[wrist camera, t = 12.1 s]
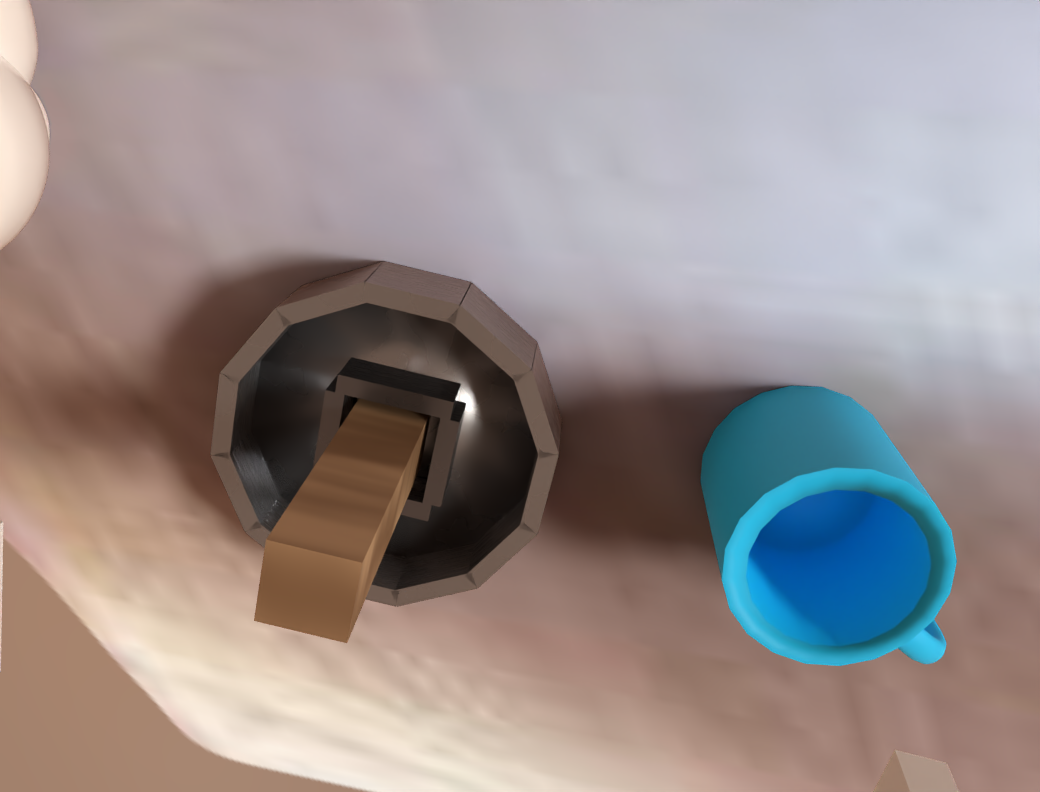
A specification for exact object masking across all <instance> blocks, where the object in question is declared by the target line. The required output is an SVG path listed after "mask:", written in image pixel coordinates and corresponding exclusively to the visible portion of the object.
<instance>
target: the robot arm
mask: <svg viewBox="0 0 1040 792" xmlns="http://www.w3.org/2000/svg"><path fill="white" fill-rule="evenodd" d="M2 563H3V521H0V672H1V623H2V621H1V620H2V565H3V564H2ZM873 792H959V790H958V788H957V786H956V783H955V781H954V779H953V776H952V774H951V771H950V769H949V767H948V764H947V763H945V762H941V761H937V760H933V759H929V758H925V757H922V756H918V755H914V754H910V753H906V752H902V751H898V750H894V752H893V754H892V756H891V758H890V760H889V762H888V764H887V766H886V768H885V770H884V772H883V774H882V776H881V778H880V780H879V782H878V783H877V785H876V787H875V789H874V791H873Z"/></svg>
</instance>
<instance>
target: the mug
mask: <svg viewBox="0 0 1040 792" xmlns="http://www.w3.org/2000/svg"><path fill="white" fill-rule="evenodd" d="M700 482H701V487H702V491H703V496H704V500H705V505H706V509H707V514H708V518H709V523H710V528H711V532H712V537H713V541H714V546H715V550H716V555H717V560H718V564H719V569H720V573H721V578H722V582H723V586H724V590H725V593H726V597H727V601H728V605H729V608H730V610H731V611H732V613H733V614H734V616H735V617H736V618H737V620H738V621H739V623H740V624H741V626H742V627H743V628H744V630H745V631H746V633H747V634H748V635H750V636H751V637H752V638H754V639H755V640H757V641H758V642H759V643H761V644H762V645H764V646H765V647H766V648H768V649H769V650H770V651H772V652H773V653H776V654H779V655H782V656H785V657H788V658H791V659H793V660H796V661H799V662H802V663H805V664H820V665H835V666H842V665H847V664H852V663H857V662H862V661H868V660H873V659H876V658H878V657H880V656H882V655H885V654H887V653H889V652H891V651H893V650H895V649H897V648H898V649H899V650H901V651H902V652H903V653H904V654H906V655H907V656H908V657H909V658H911V659H913V660H915V661H918V662H920V663H923V664H930V663H934V662H936V661H938V660H939V659H940V658H941V657H942V656H943V654H944V652H945V648H946V641H945V638H944V636H943V634H942V632H941V630H940V628H939V626H938V625H937V623H936V622H935V620H934V619H935V617H936V615H937V614H938V612H939V610H940V609H941V607H942V605H943V604H944V602H945V601H946V599H947V597H948V596H949V594H950V591H951V587H952V582H953V577H954V572H955V568H956V563H957V560H956V554H955V549H954V543H953V537H952V531H951V529H950V527H949V526H948V524H947V522H946V521H945V519H944V518H943V516H942V514H941V513H940V511H939V509H938V508H937V506H936V505H935V503H934V501H933V500H932V499H931V497H930V496H929V494H928V493H927V492H926V490H925V489H924V487H923V486H922V484H921V483H920V482H919V480H918V479H917V477H916V476H915V474H914V473H913V472H912V470H911V469H910V467H909V466H908V465H907V463H906V462H905V460H904V459H903V457H902V456H901V455H900V453H899V452H898V450H897V449H896V447H895V446H894V445H893V443H892V442H891V440H890V439H889V438H888V436H887V435H886V433H885V432H884V430H883V429H882V428H881V426H880V425H879V423H878V422H877V420H876V419H875V418H874V416H873V415H872V414H871V413H870V412H868V411H867V410H866V409H865V408H863V407H862V406H861V405H859V404H858V403H857V402H856V401H854V400H853V399H852V398H851V397H849V396H846V395H843V394H840V393H837V392H835V391H832V390H829V389H826V388H823V387H812V386H787V387H783V388H779V389H775V390H771V391H767V392H763V393H760V394H758V395H757V396H755V397H753V398H751V399H750V400H748V401H746V402H744V403H743V404H741V405H739V406H738V407H736V408H734V409H733V410H732V411H731V413H730V414H729V415H728V416H727V417H726V418H725V419H724V420H723V421H722V422H721V423H720V424H719V425H718V426H717V428H716V429H715V430H714V432H713V434H712V436H711V438H710V441H709V443H708V445H707V447H706V449H705V451H704V453H703V459H702V469H701V479H700Z"/></svg>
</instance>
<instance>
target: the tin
mask: <svg viewBox="0 0 1040 792" xmlns="http://www.w3.org/2000/svg"><path fill="white" fill-rule="evenodd" d="M359 398H360V399H364V400H368V401H373V402H377V403H381V404H385V405H389V406H393V407H398V408H402V409H406V410H410V411H414V412H418V413H423V414H427V415H431V418H430V423H429V428H428V433H427V437H426V442H425V447H424V452H423V456H422V461H421V466H420V469H419V471H418V474H417V476H416V479H415V481H414V483H413V486H412V488H411V491H410V493H409V495H408V498H407V500H406V503H405V505H404V507H403V510H402V512H401V515H400V517H399V519H398V522H397V524H396V527H395V529H394V531H393V534H392V536H391V539H390V541H389V543H388V546H387V548H386V551H385V553H384V555H383V558H382V560H381V563H380V565H379V567H378V570H377V572H376V575H375V577H374V579H373V582H372V584H371V586H370V589H369V591H368V594H367V596H366V598H365V599H367V600H371V601H375V602H379V603H383V604H387V605H392V606H397V607H398V606H402V605H406V604H411V603H415V602H420V601H424V600H429V599H433V598H437V597H442V596H446V595H451V594H455V593H459V592H464V591H468V590H473V589H477V588H479V587H480V586H481V585H482V584H483V583H484V582H485V581H487V580H488V579H489V578H490V577H491V576H492V575H493V574H494V573H495V572H496V571H498V570H499V569H500V568H501V567H502V566H503V565H504V564H505V563H506V562H507V561H509V560H510V559H511V558H512V557H513V556H514V555H515V554H516V553H517V552H518V551H520V550H521V549H522V548H523V547H524V546H525V545H526V544H527V543H528V542H529V541H531V540H532V539H533V538H534V537H535V536H536V535H537V533H538V531H539V527H540V524H541V520H542V516H543V512H544V509H545V505H546V501H547V497H548V494H549V490H550V486H551V482H552V479H553V475H554V471H555V467H556V463H557V460H558V456H559V448H560V438H561V429H562V419H561V415H560V412H559V409H558V406H557V403H556V400H555V396H554V393H553V390H552V387H551V384H550V381H549V377H548V374H547V371H546V368H545V365H544V362H543V358H542V355H541V352H540V349H539V346H538V343H537V341H536V340H534V339H533V338H532V337H531V336H530V335H529V334H528V333H527V332H526V331H525V330H523V329H522V328H521V327H520V326H519V325H518V324H517V323H516V322H515V321H514V320H513V319H511V318H510V317H509V316H508V315H507V314H506V313H505V312H504V311H503V310H502V309H500V308H499V307H498V306H497V305H496V304H495V303H494V302H493V301H492V300H491V299H490V298H488V297H487V296H486V295H485V294H484V293H483V292H482V291H481V290H480V289H479V288H477V287H476V286H475V285H474V284H473V283H471V282H469V281H465V280H460V279H456V278H452V277H448V276H444V275H440V274H436V273H431V272H427V271H423V270H419V269H415V268H411V267H407V266H402V265H398V264H394V263H390V262H386V261H383V262H379V263H376V264H372V265H369V266H366V267H362V268H359V269H356V270H352V271H349V272H345V273H342V274H339V275H335V276H332V277H329V278H325V279H322V280H318V281H315V282H312V283H308V284H305V285H302V286H301V287H300V288H298V289H297V290H296V291H295V292H294V293H292V294H291V295H290V296H289V297H288V298H287V299H285V300H284V301H283V302H282V303H281V304H280V305H278V306H277V307H276V308H275V309H274V310H273V311H272V313H271V314H270V315H269V316H268V317H267V318H266V319H265V321H264V322H263V323H262V324H261V325H260V326H259V328H258V329H257V330H256V331H255V332H254V333H253V335H252V336H251V337H250V338H249V339H248V340H247V342H246V343H245V344H244V345H243V346H242V347H241V349H240V350H239V351H238V352H237V353H236V354H235V356H234V357H233V358H232V359H231V360H230V361H229V363H228V364H227V365H226V366H225V367H224V368H223V370H222V371H221V372H220V375H219V384H218V392H217V401H216V409H215V418H214V427H213V435H212V444H211V453H210V455H211V458H212V460H213V463H214V465H215V467H216V469H217V471H218V474H219V476H220V478H221V480H222V482H223V485H224V487H225V489H226V491H227V494H228V496H229V498H230V500H231V502H232V505H233V507H234V509H235V511H236V513H237V516H238V518H239V520H240V522H241V524H242V527H243V529H244V531H245V532H246V534H248V535H249V536H250V537H251V538H253V539H254V540H255V541H256V542H258V543H259V544H260V545H261V546H263V547H264V548H265V543H266V539H267V537H268V536H269V534H270V533H271V531H272V530H273V528H274V527H275V525H276V524H277V522H278V521H279V519H280V518H281V516H282V515H283V513H284V512H285V510H286V509H287V507H288V506H289V504H290V503H291V501H292V500H293V498H294V497H295V495H296V493H297V492H298V490H299V489H300V487H301V486H302V484H303V483H304V481H305V480H306V478H307V477H308V475H309V474H310V472H311V471H312V469H313V468H314V466H315V465H316V463H317V462H318V460H319V459H320V457H321V456H322V454H323V453H324V451H325V450H326V448H327V447H328V445H329V443H330V442H331V440H332V439H333V437H334V436H335V434H336V433H337V431H338V430H339V428H340V427H341V425H342V424H343V422H344V421H345V419H346V418H347V416H348V415H349V413H350V412H351V410H352V409H353V407H354V406H355V404H356V403H357V401H358V400H359Z"/></svg>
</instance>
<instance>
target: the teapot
mask: <svg viewBox="0 0 1040 792" xmlns="http://www.w3.org/2000/svg"><path fill="white" fill-rule="evenodd" d="M37 58H38V39H37V31H36V25H35V20H34V15H33V11H32V7H31V4H30V1H29V0H0V250H1V249H3V248H4V247H5V246H7V245H8V244H9V243H10V242H11V241H12V240H13V239H14V238H15V237H16V236H17V235H18V234H19V233H20V232H21V231H22V229H23V228H24V227H25V226H26V224H27V223H28V221H29V220H30V218H31V217H32V215H33V213H34V212H35V210H36V208H37V206H38V204H39V202H40V200H41V197H42V195H43V192H44V189H45V185H46V181H47V177H48V171H49V161H50V148H49V140H50V129H49V122H48V118H47V115H46V112H45V109H44V107H43V105H42V103H41V101H40V99H39V97H38V96H37V94H36V93H35V91H34V90H33V89H32V88H31V86H30V85H31V82H32V79H33V76H34V72H35V69H36V65H37Z"/></svg>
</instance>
